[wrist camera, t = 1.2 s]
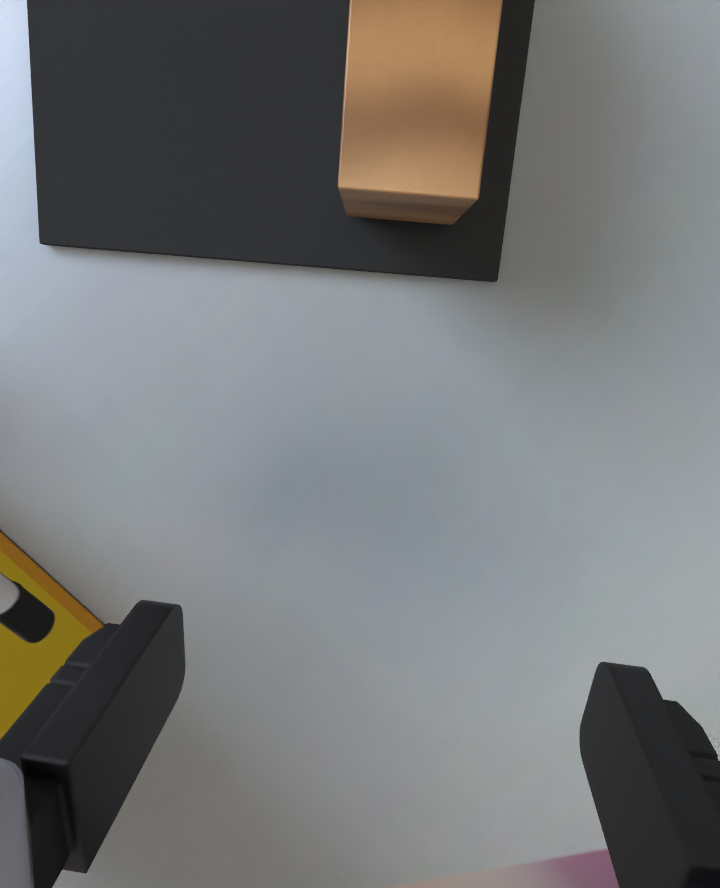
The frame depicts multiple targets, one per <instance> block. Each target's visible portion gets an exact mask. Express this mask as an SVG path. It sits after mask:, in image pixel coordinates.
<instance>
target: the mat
mask: <svg viewBox="0 0 720 888" xmlns="http://www.w3.org/2000/svg"><path fill="white" fill-rule="evenodd" d="M534 1H535V0H503V2H502V10H501V18H500V27H499V35H498V43H497V51H496V60H495V68H494V76H493V84H492V93H491V101H490V109H489V118H488V126H487V134H486V142H485V151H484V159H483V167H482V175H481V184H480V192H479V198H478V200H477V201H476V202H475V203H474V204H473V205H472V206H471V207H470V208H469V209H468V210H467V211H466V212H465V213H464V214H463V215H462V216H461V217H460V218H459V219H458V220H457V221H456V222H455V223H454V224H453V225H448V224H436V223H423V222H411V221H399V220H387V219H375V218H362V217H350V216H346V212H345V209H344V206H343V202H342V199H341V196H340V192H339V189H338V173H339V158H340V143H341V127H342V112H343V97H344V81H345V66H346V51H347V36H348V20H349V5H350V0H27V8H28V28H29V47H30V66H31V85H32V105H33V124H34V143H35V162H36V182H37V201H38V220H39V240H40V244H44V245H53V246H65V247H77V248H89V249H101V250H113V251H126V252H138V253H150V254H162V255H174V256H186V257H199V258H211V259H223V260H235V261H247V262H259V263H271V264H284V265H296V266H308V267H320V268H332V269H344V270H357V271H369V272H381V273H393V274H405V275H417V276H430V277H442V278H454V279H466V280H478V281H490V282H495V281H497V280H498V273H499V265H500V258H501V250H502V243H503V235H504V228H505V220H506V213H507V205H508V197H509V190H510V182H511V175H512V167H513V160H514V152H515V145H516V137H517V130H518V122H519V115H520V107H521V99H522V92H523V84H524V77H525V69H526V62H527V54H528V47H529V39H530V32H531V24H532V16H533V9H534Z"/></svg>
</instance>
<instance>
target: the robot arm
mask: <svg viewBox="0 0 720 888" xmlns="http://www.w3.org/2000/svg"><path fill="white" fill-rule="evenodd" d="M184 675H185V650H184V630H183V613H182V608H181V606H180V605H178V604H170V603H162V602H155V601H147V600H141V601H139V602H138V603H137V604H136V605H135V606H134V607H133V609H132V610H131V611H130V613H129V614H128V615H127V617H126V618H125V619H124V621H123V622H122V623H121V624H120V625H118V624H111V623H108V624H106V625H105V626H103V627H101V628H100V629H98V630H97V631H95V632H94V633H92V634H91V635H89V636H88V637H86V638H85V639H83V640H82V641H81V643H80V644H79V645H78V646H77V647H76V649H75V650H74V651H73V652H72V653H71V655H70V656H69V657H68V658H67V660H66V661H65V664H64V666H61V667H60V668H59V669H58V670H57V672H56V673H55V674H54V675H53V676H52V678H51V679H50V683H49V684H46V685H45V686H44V687H43V689H42V690H41V691H40V692H39V693H38V695H37V696H36V697H35V698H34V699H33V701H32V702H31V703H30V704H29V705H28V707H27V708H26V709H25V710H24V712H23V713H22V714H21V715H20V716H19V718H18V719H17V720H16V721H15V722H14V724H13V725H12V726H11V727H10V728H9V730H8V731H7V732H6V733H5V734H4V736H3V737H2V738H1V739H0V888H52V887H53V885H54V883H55V881H56V879H57V878H58V876H59V874H60V872H61V871H62V869H63V870H69V871H75V872H81V873H87V871H88V869H89V867H90V866H91V864H92V862H93V860H94V858H95V856H96V854H97V852H98V850H99V848H100V846H101V844H102V843H103V841H104V839H105V837H106V835H107V833H108V831H109V829H110V827H111V825H112V823H113V822H114V820H115V818H116V816H117V814H118V812H119V810H120V808H121V806H122V804H123V802H124V801H125V799H126V797H127V795H128V793H129V791H130V789H131V787H132V785H133V783H134V781H135V780H136V778H137V776H138V774H139V772H140V770H141V768H142V766H143V764H144V762H145V760H146V759H147V757H148V755H149V753H150V751H151V749H152V747H153V745H154V743H155V741H156V739H157V738H158V736H159V734H160V732H161V730H162V728H163V726H164V724H165V722H166V720H167V718H168V717H169V715H170V713H171V711H172V709H173V707H174V705H175V703H176V701H177V699H178V697H179V694H180V692H181V688H182V685H183V681H184ZM580 751H581V757H582V761H583V765H584V768H585V772H586V775H587V779H588V782H589V785H590V789H591V792H592V796H593V799H594V802H595V806H596V809H597V813H598V816H599V820H600V823H601V826H602V830H603V833H604V837H605V840H606V844H607V847H608V850H609V854H610V857H611V860H612V864H613V867H614V871H615V874H616V878H617V881H618V885H619V888H720V761H718V758H717V756H718V755H717V753H716V751H715V750H714V748H713V746H712V744H711V742H710V741H709V739H708V737H707V735H706V733H705V731H704V730H703V728H702V727H701V725H700V724H699V723H698V722H697V721H696V720H695V719H694V718H693V717H692V716H691V715H690V714H689V713H688V712H687V711H686V710H685V709H684V708H683V707H682V706H681V705H680V704H679V703H678V702H676V701H669V700H663V698H662V696H661V694H660V692H659V690H658V688H657V686H656V684H655V682H654V680H653V678H652V676H651V675H650V673H649V671H648V670H647V669H646V668H644V667H638V666H631V665H623V664H616V663H608V662H601V663H600V664H599V665H598V667H597V669H596V672H595V675H594V679H593V682H592V686H591V689H590V693H589V696H588V700H587V703H586V707H585V710H584V714H583V717H582V721H581V726H580Z"/></svg>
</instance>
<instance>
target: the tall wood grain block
mask: <svg viewBox="0 0 720 888" xmlns="http://www.w3.org/2000/svg"><path fill="white" fill-rule="evenodd" d="M502 2H503V0H350V5H349V20H348V36H347V51H346V66H345V81H344V97H343V112H342V127H341V143H340V158H339V173H338V189H339V192H340V196H341V199H342V202H343V206H344V209H345V212H346V216H350V217H362V218H375V219H387V220H399V221H411V222H423V223H436V224H448V225H453V224H454V223H455V222H456V221H457V220H458V219H459V218H460V217H461V216H462V215H463V214H464V213H465V212H466V211H467V210H468V209H469V208H470V207H471V206H472V205H473V204H474V203H475V202H476V201H477V200H478V198H479V192H480V184H481V175H482V167H483V159H484V151H485V142H486V134H487V126H488V118H489V109H490V101H491V93H492V84H493V76H494V68H495V60H496V51H497V43H498V35H499V27H500V18H501V10H502Z"/></svg>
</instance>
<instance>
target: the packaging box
mask: <svg viewBox="0 0 720 888" xmlns="http://www.w3.org/2000/svg"><path fill="white" fill-rule="evenodd" d="M103 626H104V625H103V624H102V623H101V622H100V621H99V620H97V619H96V618H95V617H94V616H93V615H92V614H91V613H90V612H89V611H87V610H86V609H85V608H84V607H83V606H82V605H81V604H80V603H79V602H78V601H76V600H75V599H74V598H73V597H72V596H71V595H70V594H69V593H68V592H66V591H65V590H64V589H63V588H62V587H61V586H60V585H59V584H58V583H57V582H55V581H54V580H53V579H52V578H51V577H50V576H49V575H48V574H47V573H46V572H44V571H43V570H42V569H41V568H40V567H39V566H38V565H37V564H36V563H34V562H33V561H32V560H31V559H30V558H29V557H28V556H27V555H26V554H25V553H23V552H22V551H21V550H20V549H19V548H18V547H17V546H16V545H15V544H13V543H12V542H11V541H10V540H9V539H8V538H7V537H6V536H5V535H4V534H2V533H1V532H0V739H1V738H2V737H3V736H4V734H5V733H6V732H7V731H8V730H9V728H10V727H11V726H12V725H13V724H14V722H15V721H16V720H17V719H18V718H19V716H20V715H21V714H22V713H23V712H24V710H25V709H26V708H27V707H28V705H29V704H30V703H31V702H32V701H33V699H34V698H35V697H36V696H37V695H38V693H39V692H40V691H41V690H42V689H43V687H44V686H45V685H46V684H49V683H50V679H51V678H52V676H53V675H54V674H55V673H56V672H57V670H58V669H59V668H60V667H61V666H64V664H65V661H66V660H67V658H68V657H69V656H70V655H71V653H72V652H73V651H74V650H75V649H76V647H77V646H78V645H79V644H80V643H81V641H82V640H83V639H85V638H86V637H88V636H89V635H91V634H92V633H94V632H95V631H97V630H98V629H100V628H101V627H103Z"/></svg>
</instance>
